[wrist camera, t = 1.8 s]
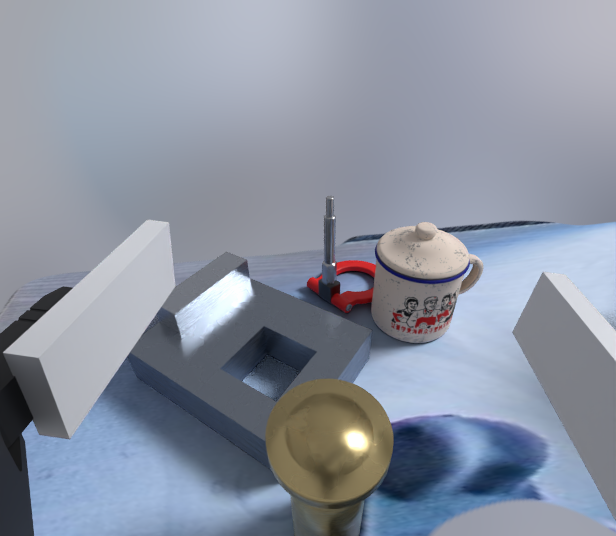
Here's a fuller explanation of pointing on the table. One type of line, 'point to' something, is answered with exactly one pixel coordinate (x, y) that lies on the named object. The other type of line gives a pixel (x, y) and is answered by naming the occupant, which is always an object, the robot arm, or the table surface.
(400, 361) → the table surface
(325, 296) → the tow hook
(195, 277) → the jig
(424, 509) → the table surface
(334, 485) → the brass flanged peg
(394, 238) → the teacup with lid
